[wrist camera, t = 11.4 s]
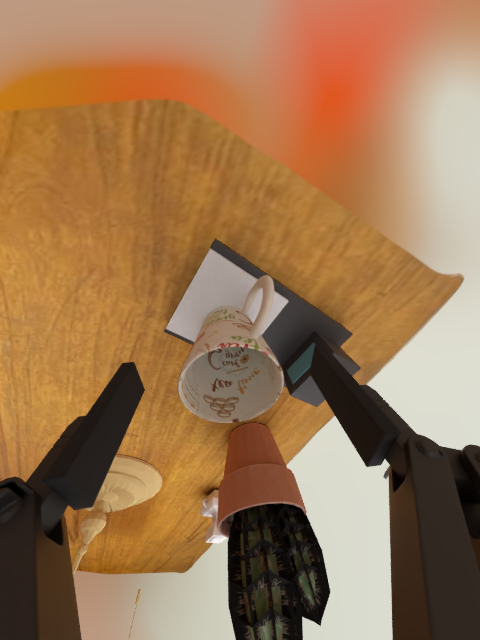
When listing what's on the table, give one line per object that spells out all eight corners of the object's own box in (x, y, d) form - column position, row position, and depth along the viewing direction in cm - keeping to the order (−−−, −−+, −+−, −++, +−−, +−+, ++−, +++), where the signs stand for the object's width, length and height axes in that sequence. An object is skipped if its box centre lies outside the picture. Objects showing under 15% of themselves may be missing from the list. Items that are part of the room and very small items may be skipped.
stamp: (238, 489, 50) (241, 536, 42) (225, 500, 52) (226, 546, 45) (208, 484, 47) (206, 532, 40) (196, 496, 49) (192, 544, 42)
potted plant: (240, 460, 43) (261, 704, 21) (204, 433, 38) (182, 731, 15) (291, 436, 41) (375, 684, 19) (261, 404, 35) (332, 707, 13)
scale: (168, 322, 26) (150, 356, 19) (215, 238, 21) (213, 243, 15) (290, 380, 33) (307, 418, 27) (343, 326, 29) (379, 355, 22)
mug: (186, 344, 24) (165, 414, 15) (219, 248, 19) (219, 267, 10) (244, 360, 26) (257, 430, 17) (288, 277, 21) (337, 315, 12)
